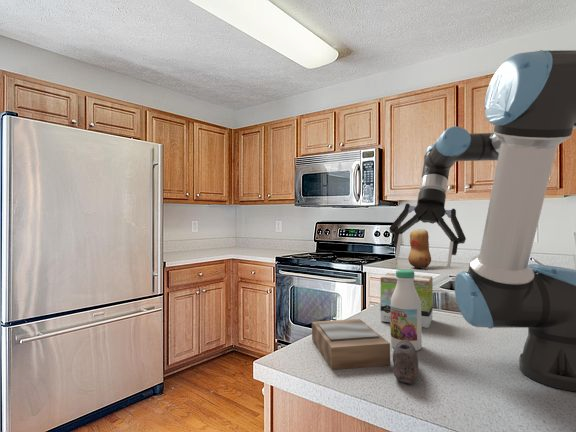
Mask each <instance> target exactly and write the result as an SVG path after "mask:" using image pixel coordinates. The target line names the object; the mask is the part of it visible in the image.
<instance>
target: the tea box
mask: <svg viewBox="0 0 576 432" xmlns="http://www.w3.org/2000/svg"><path fill="white" fill-rule="evenodd" d="M433 279H434V278H433V276H432V275H421V274H420V275H419V274H417V275H416V274H414V286H415V289H416V291H417V293H418V295H419V298H420V303H421V328H426V329H429V327H430V326H431V322H432V321H433V311H434V310H433V306H434V305H433V302H434V301H433V300H434V299H433V297H434V295H433V289H434V288H433V287H434V286H433V281H434V280H433ZM396 284H397V279H396V272H394V273H393V272H386V273H385V274H384V275H383V276H381V277H380V310H379V311H380V322H385V323H391V312H390V309H391V298H392V294H393V292H394V290H395V288H396Z"/></svg>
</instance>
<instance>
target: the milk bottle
mask: <svg viewBox="0 0 576 432" xmlns="http://www.w3.org/2000/svg"><path fill="white" fill-rule="evenodd" d="M395 274H396V279H397V284H396V288H395V290H394V292H393V294H392V298H391V309H390V312H391V322H390V346H392V348H393V349H394V348H395V347H396V345H397V344H398V343H399V342H400V341H402V340H408V341H410V342H411V343H412V345H413V346H414V348H415V350H416V352H417V351H419V350H421V349H422V345H423V344H422V343H423V341H422V338H423V336H422V333H423V332H422V329H423V327H421V303H420V298H419V295H418V293H417V291H416V289H415V286H414V275H415V271H414V270H411V269H398V270H395Z"/></svg>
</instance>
